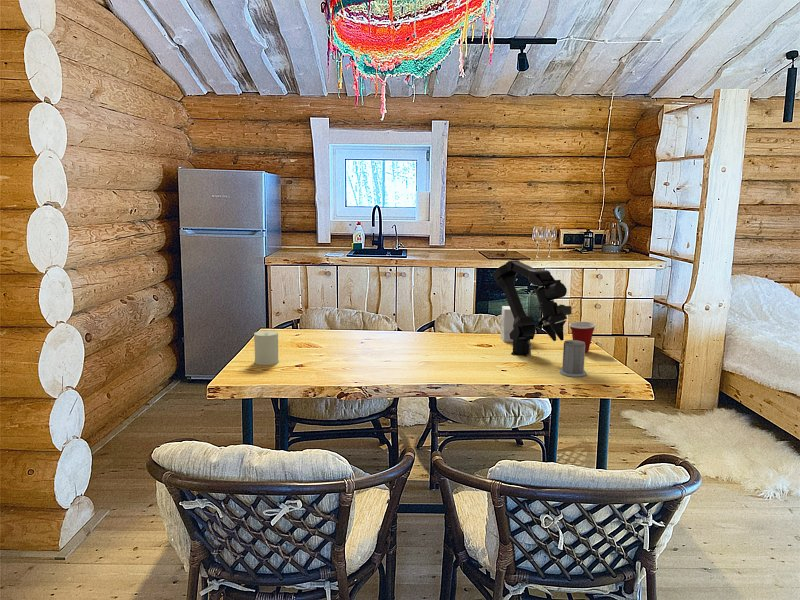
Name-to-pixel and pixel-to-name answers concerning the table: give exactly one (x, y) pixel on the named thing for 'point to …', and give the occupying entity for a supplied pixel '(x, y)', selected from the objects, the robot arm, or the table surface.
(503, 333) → the supplement box
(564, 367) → the grey flanged cylinder
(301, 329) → the table surface
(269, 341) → the can
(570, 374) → the bowl saucer
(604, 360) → the table surface
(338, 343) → the table surface
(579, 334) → the plastic cup
